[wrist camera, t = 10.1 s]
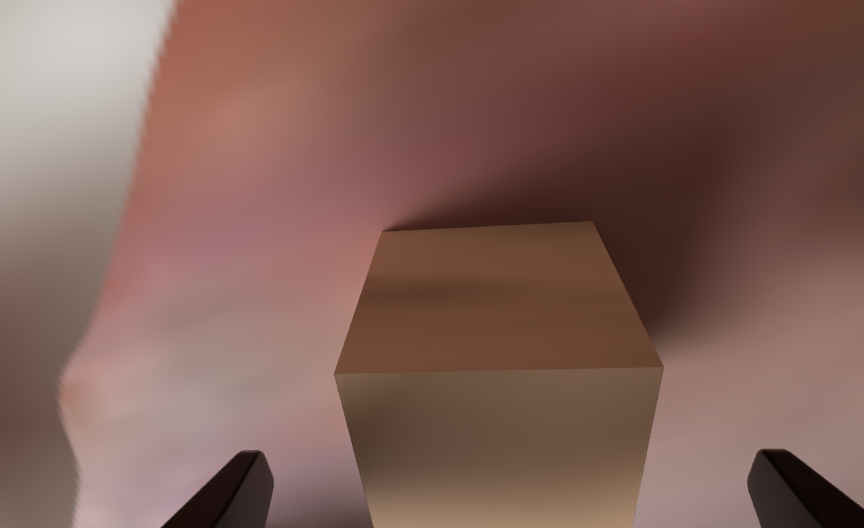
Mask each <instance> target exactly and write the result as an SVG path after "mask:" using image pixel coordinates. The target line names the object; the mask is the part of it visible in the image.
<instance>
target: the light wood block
mask: <svg viewBox="0 0 864 528" xmlns="http://www.w3.org/2000/svg"><path fill="white" fill-rule="evenodd" d="M663 369H664V366H663V364H662V362H661V360H660V358H659V356H658V354H657V352H656V350H655V348H654V346H653V344H652V342H651V340H650V338H649V336H648V334H647V332H646V330H645V327H644V325H643V323H642V321H641V319H640V317H639V315H638V313H637V311H636V309H635V307H634V305H633V303H632V301H631V299H630V297H629V295H628V293H627V291H626V289H625V287H624V285H623V283H622V280H621V278H620V276H619V274H618V272H617V270H616V268H615V266H614V264H613V262H612V260H611V258H610V256H609V254H608V252H607V250H606V248H605V246H604V244H603V242H602V240H601V238H600V236H599V234H598V231H597V229H596V227H595V225H594V223H593V221H581V222H561V223H542V224H522V225H503V226H483V227H464V228H444V229H424V230H405V231H385V232H382V233H381V236H380V239H379V242H378V245H377V248H376V251H375V254H374V257H373V260H372V263H371V266H370V268H369V271H368V274H367V277H366V280H365V283H364V286H363V289H362V292H361V295H360V298H359V301H358V304H357V307H356V310H355V313H354V316H353V319H352V322H351V325H350V328H349V331H348V334H347V337H346V340H345V343H344V346H343V349H342V352H341V355H340V358H339V361H338V364H337V366H336V369H335V372H334V376H335V380H336V384H337V388H338V392H339V396H340V399H341V403H342V407H343V411H344V415H345V419H346V423H347V426H348V430H349V434H350V438H351V442H352V446H353V450H354V454H355V457H356V461H357V465H358V469H359V473H360V477H361V481H362V484H363V488H364V492H365V496H366V500H367V504H368V508H369V511H370V515H371V519H372V523H373V527H374V528H632V524H633V519H634V514H635V509H636V504H637V499H638V494H639V489H640V484H641V479H642V474H643V469H644V464H645V459H646V454H647V449H648V444H649V439H650V434H651V429H652V424H653V419H654V414H655V409H656V404H657V399H658V394H659V389H660V384H661V379H662V374H663Z"/></svg>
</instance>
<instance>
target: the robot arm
mask: <svg viewBox="0 0 864 528" xmlns="http://www.w3.org/2000/svg"><path fill="white" fill-rule="evenodd" d="M747 485H748V491H749V494H750V497H751V500H752V502H753V505H754V508H755V511H756V514H757V517H758V519H759V522H760V525H761V528H864V508H862V507H861V506H860V505H859V504H857V503H856V502H855V501H853V500H852V499H851V498H849V497H848V496H847V495H846V494H844V493H843V492H842V491H840V490H839V489H838V488H837V487H835V486H834V485H833V484H831V483H830V482H829V481H827V480H826V479H825V478H824V477H822V476H821V475H820V474H818V473H817V472H816V471H815V470H813V469H812V468H811V467H809V466H808V465H807V464H805V463H804V462H803V461H802V460H800V459H799V458H798V457H796V456H795V455H794V454H792V453H791V452H789V451H787V450H785V449H761V450H759V451H758V452H757V454H756V457H755V459H754V462H753V465H752V467H751V470H750V473H749V475H748V480H747ZM273 487H274V479H273V475H272V472H271V470H270V467H269V465H268V462H267V460H266V457H265V455H264V453H263V452H262V451H259V450H244V451H241V452H239V453H237V454H236V455H235V456H234V457H233V458H232V459H231V460H230V461H229V462H228V463H227V464H226V465H225V466H224V467H223V468H222V469H221V470H220V471H219V472H218V473H217V474H216V475H215V476H214V477H212V478H211V479H210V480H209V481H208V482H207V483H206V484H205V485H204V486H203V487H202V488H201V489H200V490H199V491H198V492H197V493H196V494H195V495H194V496H193V497H192V498H191V499H190V500H189V501H188V502H187V503H186V504H185V505H184V506H183V507H182V508H181V509H179V510H178V511H177V512H176V513H175V514H174V515H173V516H172V517H171V518H170V519H169V520H168V521H167V522H166V523H165V524H164V525H163V526H162V527H161V528H265V524H266V519H267V515H268V510H269V506H270V501H271V497H272V493H273Z"/></svg>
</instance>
